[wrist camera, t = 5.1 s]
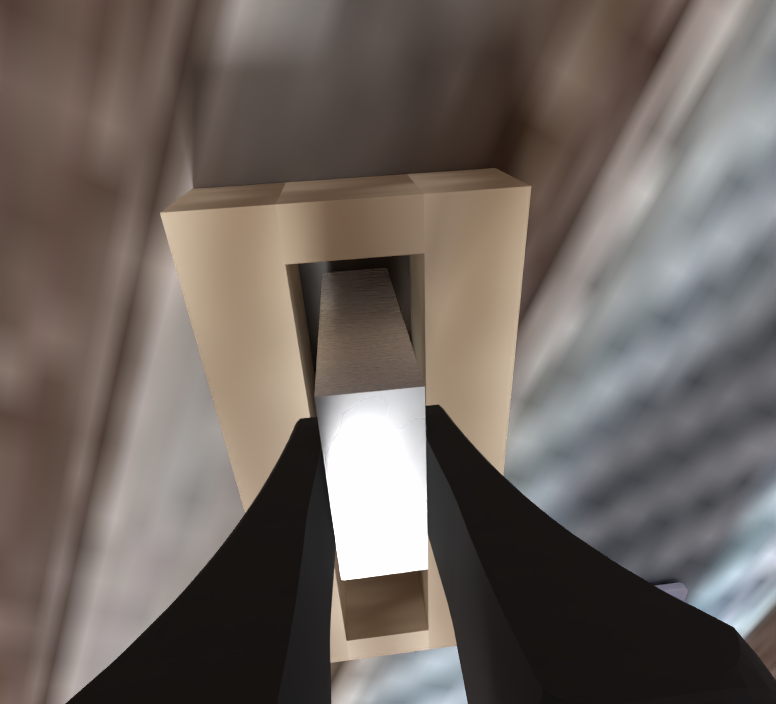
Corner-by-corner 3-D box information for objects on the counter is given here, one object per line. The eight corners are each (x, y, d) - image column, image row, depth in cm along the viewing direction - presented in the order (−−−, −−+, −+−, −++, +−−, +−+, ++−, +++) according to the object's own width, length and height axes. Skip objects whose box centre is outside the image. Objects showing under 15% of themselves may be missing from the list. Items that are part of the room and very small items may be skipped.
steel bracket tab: (386, 267, 15) (424, 386, 9) (394, 400, 17) (427, 569, 11) (322, 272, 15) (314, 397, 8) (338, 406, 17) (341, 580, 11)
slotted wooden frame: (495, 168, 14) (531, 186, 12) (470, 581, 24) (487, 641, 22) (192, 188, 14) (159, 212, 11) (293, 603, 24) (288, 668, 21)
